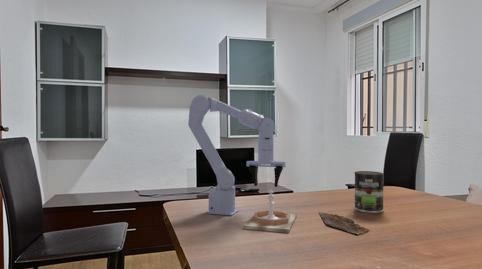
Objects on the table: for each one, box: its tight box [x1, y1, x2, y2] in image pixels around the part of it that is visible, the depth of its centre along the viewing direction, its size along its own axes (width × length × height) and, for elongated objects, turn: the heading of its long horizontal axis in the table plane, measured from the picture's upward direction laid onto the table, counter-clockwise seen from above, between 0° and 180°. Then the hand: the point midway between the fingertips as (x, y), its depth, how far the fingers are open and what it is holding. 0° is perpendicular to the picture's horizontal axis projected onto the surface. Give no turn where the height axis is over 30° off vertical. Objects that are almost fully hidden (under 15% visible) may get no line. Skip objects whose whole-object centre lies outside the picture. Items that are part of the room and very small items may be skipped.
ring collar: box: [252, 209, 291, 225], centre depth 104 cm, size 12×12×2 cm
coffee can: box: [353, 170, 385, 214], centre depth 121 cm, size 10×10×14 cm
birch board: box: [243, 211, 298, 234], centre depth 104 cm, size 14×18×1 cm
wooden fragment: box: [318, 212, 370, 236], centre depth 104 cm, size 26×11×1 cm, turn 8°
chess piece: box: [264, 189, 278, 219], centre depth 103 cm, size 5×5×10 cm
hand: (266, 186), depth 119 cm, fingers open, 7 cm apart
